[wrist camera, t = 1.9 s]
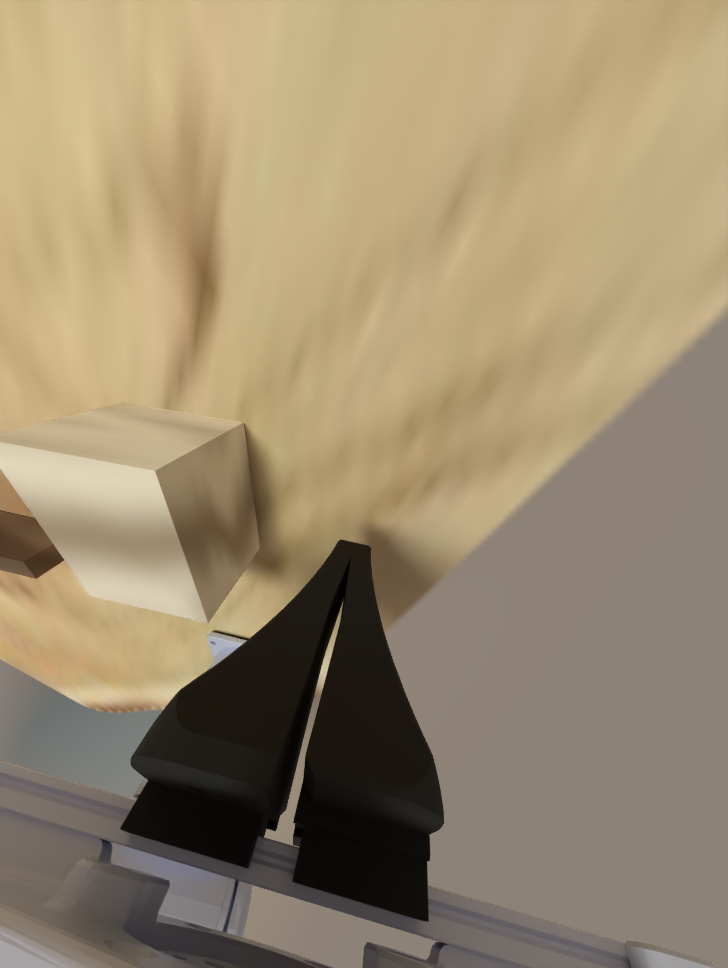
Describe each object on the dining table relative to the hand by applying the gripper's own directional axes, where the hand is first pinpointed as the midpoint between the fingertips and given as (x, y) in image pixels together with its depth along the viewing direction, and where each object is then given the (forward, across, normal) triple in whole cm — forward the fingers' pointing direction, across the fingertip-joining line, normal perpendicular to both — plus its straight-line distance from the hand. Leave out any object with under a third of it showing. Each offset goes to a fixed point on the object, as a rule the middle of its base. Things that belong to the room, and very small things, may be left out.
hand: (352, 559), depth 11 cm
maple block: (+3, +9, 0) cm, 9 cm away
